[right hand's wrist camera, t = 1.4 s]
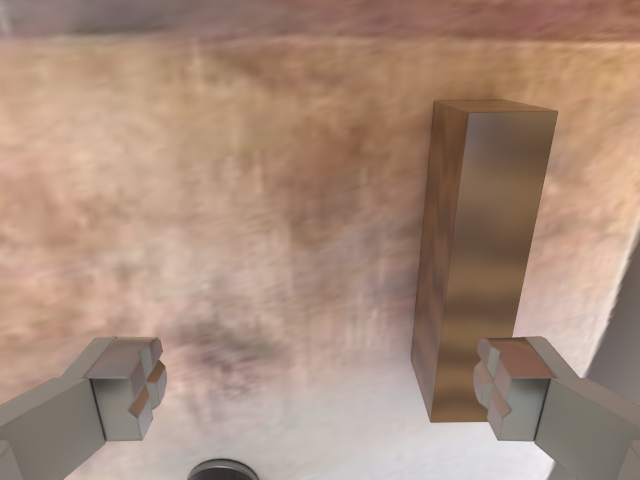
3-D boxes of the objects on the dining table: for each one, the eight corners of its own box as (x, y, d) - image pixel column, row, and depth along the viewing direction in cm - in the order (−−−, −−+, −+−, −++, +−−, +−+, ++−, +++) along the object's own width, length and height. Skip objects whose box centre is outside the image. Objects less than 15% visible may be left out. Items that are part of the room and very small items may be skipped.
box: (434, 100, 36) (468, 112, 28) (503, 99, 36) (559, 110, 28) (410, 359, 47) (430, 423, 39) (464, 359, 47) (495, 422, 39)
